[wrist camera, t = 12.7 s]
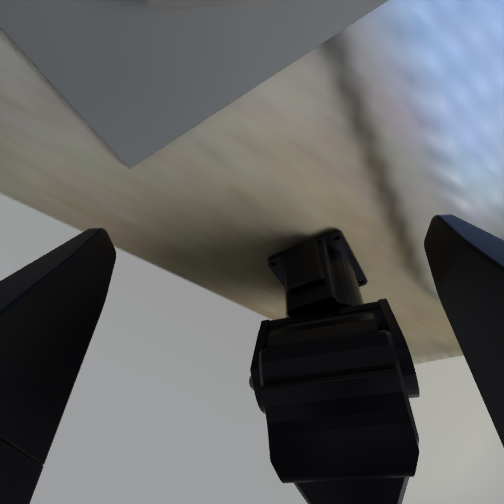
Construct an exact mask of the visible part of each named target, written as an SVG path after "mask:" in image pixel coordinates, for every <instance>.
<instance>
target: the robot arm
mask: <svg viewBox="0 0 504 504" xmlns="http://www.w3.org/2000/svg"><path fill="white" fill-rule="evenodd" d="M337 235H338V237H335V236H337ZM424 248H425V252H426V255H427V259H428V262H429V265H430V269H431V272H432V276H433V279H434V283H435V286H436V290H437V293H438V296H439V298H440V301H441V303H442V306H443V308H444V310H445V312H446V315H447V317H448V319H449V322H450V324H451V326H452V329H453V331H454V333H455V336H456V338H457V340H458V343H459V345H460V347H461V349H462V352H463V354H464V356H465V359H466V361H467V363H468V366H469V368H470V370H471V372H472V375H473V377H474V380H475V382H476V384H477V386H478V389H479V391H480V393H481V396H482V398H483V400H484V403H485V405H486V407H487V410H488V412H489V414H490V417H491V419H492V421H493V423H494V426H495V428H496V430H497V433H498V435H499V437H500V439H501V442H502V444H503V446H504V240H502V239H500V238H498V237H496V236H494V235H492V234H490V233H488V232H486V231H484V230H482V229H480V228H478V227H476V226H474V225H472V224H470V223H468V222H466V221H464V220H462V219H460V218H458V217H456V216H454V215H450V214H448V215H436V216H434V217H433V218H432V220H431V223H430V226H429V229H428V231H427V234H426V237H425V241H424ZM115 260H116V251H115V248H114V246H113V244H112V242H111V239H110V237H109V235H108V233H107V231H106V230H105V229H103V228H92V229H88V230H86V231H84V232H83V233H81V234H79V235H78V236H76V237H74V238H72V239H71V240H69V241H67V242H66V243H64V244H62V245H61V246H59V247H57V248H55V249H54V250H52V251H50V252H49V253H47V254H46V255H44V256H42V257H40V258H39V259H37V260H35V261H34V262H32V263H30V264H28V265H27V266H25V267H23V268H22V269H20V270H18V271H17V272H15V273H13V274H12V275H10V276H8V277H6V278H5V279H3V280H1V281H0V504H30V501H31V498H32V495H33V493H34V490H35V488H36V485H37V482H38V480H39V477H40V474H41V472H42V469H43V464H44V463H45V460H46V458H47V455H48V452H49V450H50V447H51V444H52V442H53V439H54V437H55V434H56V431H57V429H58V426H59V423H60V420H61V418H62V415H63V413H64V409H65V407H66V405H67V402H68V399H69V396H70V394H71V391H72V389H73V386H74V383H75V381H76V378H77V375H78V373H79V370H80V367H81V364H82V362H83V359H84V356H85V354H86V351H87V349H88V346H89V343H90V341H91V338H92V335H93V333H94V330H95V327H96V325H97V322H98V319H99V317H100V314H101V312H102V309H103V306H104V303H105V299H106V296H107V292H108V288H109V284H110V280H111V276H112V271H113V268H114V264H115ZM272 262H275V263H272ZM268 266H269V267H270V269H271V270H272V271H273V273H274V274H275V275H276V277H277V278H278V279H279V280H280V282H281V283H282V284H283V286H284V287H285V300H286V318H282V319H277V320H271V321H270V320H264V321H262V322H261V326H260V330H259V332H258V337H257V341H256V346H255V351H254V355H253V360H252V364H251V369H250V370H251V376H250V379H249V384H250V387H251V388H252V389H253V390H254V391H255V396H256V400H257V403H258V405H259V408H260V410H261V411H262V412H263V413H266V419H267V427H268V437H269V450H270V460H271V463H272V465H273V467H274V469H275V471H276V473H277V475H278V477H279V478H280V480H281V481H282V482H283V483H294V484H295V486H296V487H297V489H298V490H299V492H300V493H301V494H302V496H303V497H304V499H305V500H306V502H307V503H308V504H402V501H403V497H404V493H405V490H406V487H407V483H408V480H409V477H413V476H414V475H415V472H416V466H417V461H418V456H419V448H418V443H419V437H418V433H417V429H416V425H415V421H414V417H413V414H412V410H411V406H410V402H409V398H414V397H419V386H418V381H417V377H416V372H415V369H414V365H413V361H412V358H411V355H410V352H409V349H408V346H407V343H406V341H405V338H404V336H403V334H402V331H401V329H400V327H399V325H398V323H397V321H396V319H395V316H394V314H393V312H392V310H391V308H390V306H389V303H388V301H387V299H380V300H378V301H377V302H372V303H366V304H364V303H363V300H362V296H361V293H360V289H359V287H360V286H363V285H365V284H366V283H367V279H366V276H365V274H364V272H363V270H362V268H361V267H360V265H359V263H358V261H357V259H356V257H355V255H354V253H353V252H352V250H351V248H350V246H349V244H348V242H347V240H346V238H345V236H344V235H343V233H342V231H340V230H333V231H331V232H329V233H326V234H324V235H321V236H319V237H317V238H314V239H312V240H309V241H307V242H304V243H302V244H300V245H297V246H295V247H292V248H290V249H288V250H285V251H283V252H281V253H278V254H276V255H273V256H271V257H269V258H268ZM360 280H361V281H360Z"/></svg>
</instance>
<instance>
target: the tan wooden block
mask: <svg viewBox="0 0 504 504" xmlns="http://www.w3.org/2000/svg"><path fill="white" fill-rule="evenodd" d="M262 1H272V0H148V3H149V7H150V11H151V13H152V12H162V11H172V10H182V9H192V8H202V7H212V6H222V5H232V4H242V3H252V2H262Z"/></svg>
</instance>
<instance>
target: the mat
mask: <svg viewBox="0 0 504 504" xmlns="http://www.w3.org/2000/svg"><path fill="white" fill-rule="evenodd" d="M386 1H388V0H272V1H262V2H252V3H242V4H232V5H222V6H212V7H202V8H192V9H182V10H172V11H162V12H152V13H151V11H150V7H149V3H148V0H0V28H1V29H2V30H3V31H4V32H5V33H6V34H7V35H8V37H9V38H10V39H11V40H12V41H13V42H14V43H15V44H16V45H17V46H18V48H19V49H20V50H21V51H22V52H23V53H24V54H25V55H26V56H27V57H28V59H29V60H30V61H31V62H32V63H33V64H34V65H35V66H36V67H37V68H38V70H39V71H40V72H41V73H42V74H43V75H44V76H45V77H46V78H47V79H48V81H49V82H50V83H51V84H52V85H53V86H54V87H55V88H56V89H57V90H58V92H59V93H60V94H61V95H62V96H63V97H64V98H65V99H66V100H67V101H68V103H69V104H70V105H71V106H72V107H73V108H74V109H75V110H76V111H77V112H78V114H79V115H80V116H81V117H82V118H83V119H84V120H85V121H86V122H87V123H88V125H89V126H90V127H91V128H92V129H93V130H94V131H95V132H96V133H97V134H98V136H99V137H100V138H101V139H102V140H103V141H104V142H105V143H106V144H107V145H108V147H109V148H110V149H111V150H112V151H113V152H114V153H115V154H116V155H117V156H118V158H119V159H120V160H121V161H122V162H123V163H124V164H125V165H126V166H127V167H128V169H130V168H131V167H133V166H135V165H136V164H138V163H139V162H141V161H142V160H144V159H145V158H147V157H148V156H150V155H151V154H153V153H154V152H156V151H158V150H159V149H161V148H162V147H164V146H165V145H167V144H168V143H170V142H171V141H173V140H174V139H176V138H177V137H179V136H181V135H182V134H184V133H185V132H187V131H188V130H190V129H191V128H193V127H194V126H196V125H197V124H199V123H201V122H202V121H204V120H205V119H207V118H208V117H210V116H211V115H213V114H214V113H216V112H217V111H219V110H220V109H222V108H224V107H225V106H227V105H228V104H230V103H231V102H233V101H234V100H236V99H237V98H239V97H240V96H242V95H243V94H245V93H247V92H248V91H250V90H251V89H253V88H254V87H256V86H257V85H259V84H260V83H262V82H263V81H265V80H267V79H268V78H270V77H271V76H273V75H274V74H276V73H277V72H279V71H280V70H282V69H283V68H285V67H286V66H288V65H290V64H291V63H293V62H294V61H296V60H297V59H299V58H300V57H302V56H303V55H305V54H306V53H308V52H310V51H311V50H313V49H314V48H316V47H317V46H319V45H320V44H322V43H323V42H325V41H326V40H328V39H329V38H331V37H333V36H334V35H336V34H337V33H339V32H340V31H342V30H343V29H345V28H346V27H348V26H349V25H351V24H352V23H354V22H356V21H357V20H359V19H360V18H362V17H363V16H365V15H366V14H368V13H369V12H371V11H372V10H374V9H376V8H377V7H379V6H380V5H382V4H383V3H385V2H386Z"/></svg>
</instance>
